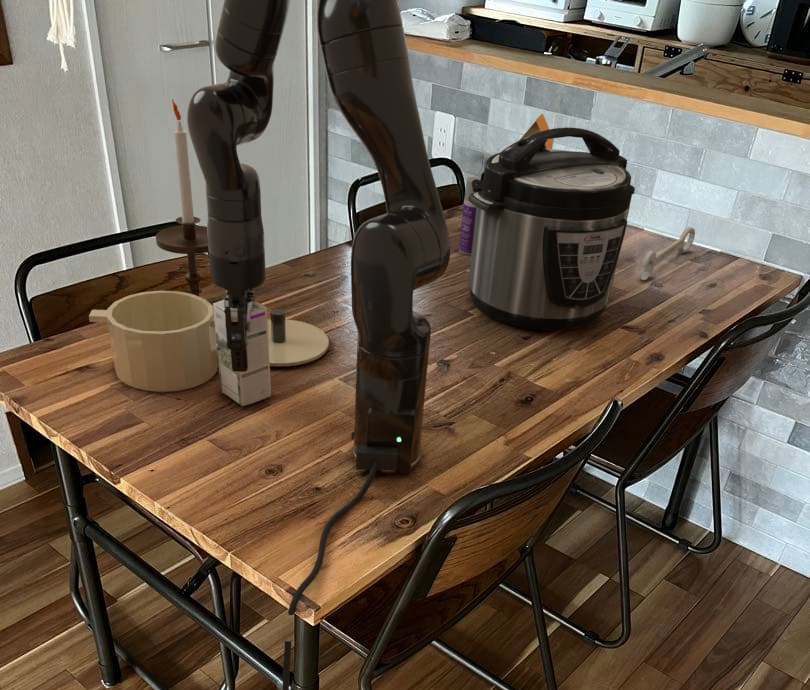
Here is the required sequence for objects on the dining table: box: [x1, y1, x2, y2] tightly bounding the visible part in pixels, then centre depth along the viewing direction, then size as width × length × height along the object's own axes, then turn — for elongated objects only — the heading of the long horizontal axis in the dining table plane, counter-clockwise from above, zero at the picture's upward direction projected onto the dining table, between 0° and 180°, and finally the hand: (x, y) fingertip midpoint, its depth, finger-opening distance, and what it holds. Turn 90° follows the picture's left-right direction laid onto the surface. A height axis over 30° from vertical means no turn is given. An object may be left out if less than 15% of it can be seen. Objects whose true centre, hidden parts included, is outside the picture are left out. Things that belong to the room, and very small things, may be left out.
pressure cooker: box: [467, 127, 636, 331], centre depth 153 cm, size 30×28×32 cm
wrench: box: [640, 226, 696, 281], centre depth 183 cm, size 28×2×6 cm, turn 145°
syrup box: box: [212, 299, 272, 407], centre depth 124 cm, size 6×6×14 cm
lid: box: [267, 308, 330, 367], centre depth 140 cm, size 17×17×6 cm
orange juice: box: [519, 113, 555, 149], centre depth 209 cm, size 8×9×20 cm
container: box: [458, 176, 481, 256], centre depth 179 cm, size 5×5×15 cm
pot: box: [88, 290, 219, 393], centre depth 131 cm, size 16×21×10 cm
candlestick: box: [155, 98, 214, 312], centre depth 138 cm, size 11×11×35 cm
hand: (243, 357), depth 124 cm, fingers closed on syrup box, 8 cm apart
